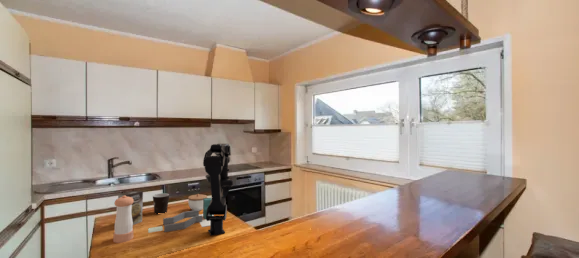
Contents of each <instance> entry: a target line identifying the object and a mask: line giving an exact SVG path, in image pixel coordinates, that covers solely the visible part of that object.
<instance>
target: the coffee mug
mask: <svg viewBox="0 0 579 258" xmlns="http://www.w3.org/2000/svg"><path fill="white" fill-rule="evenodd" d="M169 199H170V194H169V193H157V194H153V195H152V203H153V211H154V214H155V213H156V214H155V215H159V214H158V213H164V214H166V213H167V212H168V208H169V207H168V206H169V201H170V200H169ZM165 212H166V213H165Z"/></svg>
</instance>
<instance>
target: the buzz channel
mask: <svg viewBox="0 0 579 258" xmlns="http://www.w3.org/2000/svg"><path fill="white" fill-rule="evenodd" d="M212 216H215V215H212ZM183 219H187V220H185V221H182V220H183ZM179 221H181V222H179ZM196 223H199V224H200V226H201V228H207V227H210V221H207V220H206V219H204V217H203V213H202V214H200V211H199V210H195V211H193V210H190V211H189V210H188V211H183V212H180V213H179V214H176V215H174V216H172V217H171V216H170V217H164V218H163V219H162V225H160V226H159V225H158V226H155V227H149V228H148V231H147V233H148V234H150V233H151V234H152V233H155V232H156V233H157V232H161V231H163V232H164V233H167V232H173V231H179V230H180V231H181V230H185V229H187V228H189V227H191V226H193V225H194V224H196ZM163 226H164V227H163ZM163 228H164V229H163Z"/></svg>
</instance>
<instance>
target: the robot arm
mask: <svg viewBox="0 0 579 258" xmlns="http://www.w3.org/2000/svg"><path fill="white" fill-rule="evenodd" d="M231 149H232V147H231V145H230V144H229V143H214V144H211V145H210V148H209V149H208V150H207V151H206V152H205V153H204V157H203V160H202V161H203V162H202V165H203V167H204V170H205V173H206V174H205V176H204V177H205V179H206V181H207V182H208V183H209V184H210V194H211V195H210V196H211V198H212V199H211V201H210V205H209V206H208V208H207V213H206V220H207V221H210V226H209V228H210V229H208V230H207V231H208V233H209V235H210V236H216V235H217V236H218V235H222V234H225V233H226V231H225V230H224V221H226V219H227V216H228V215H227V213H228V212H227V211H228V205H227V204H226V199H227V198H226V197H227V195H228V193H229V192H230V190H231V188H232V186H233V184H234V182H233V180H232V179H230V176H229V172H230V169H229V163H230V162H231V156H232V150H231ZM213 154H215V155H213ZM210 215H214V216H210Z"/></svg>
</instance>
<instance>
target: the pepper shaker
mask: <svg viewBox="0 0 579 258" xmlns="http://www.w3.org/2000/svg"><path fill="white" fill-rule="evenodd" d="M133 202H134V200H133V198H132V197H127V196H126V195H124V196H122V197H120V198H118V197H117V199H116V200H114V206H115V207H116V212H115V213H116V215H115V216H116V217H115V221H114V232H113V233H112V234H113V240H112V241H113V243H118V244H121V243H126V242H129V241H132V240H133V239H134V229H133V227H134V225H133V221H132V214H131V209H132V205H131V204H133Z"/></svg>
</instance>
